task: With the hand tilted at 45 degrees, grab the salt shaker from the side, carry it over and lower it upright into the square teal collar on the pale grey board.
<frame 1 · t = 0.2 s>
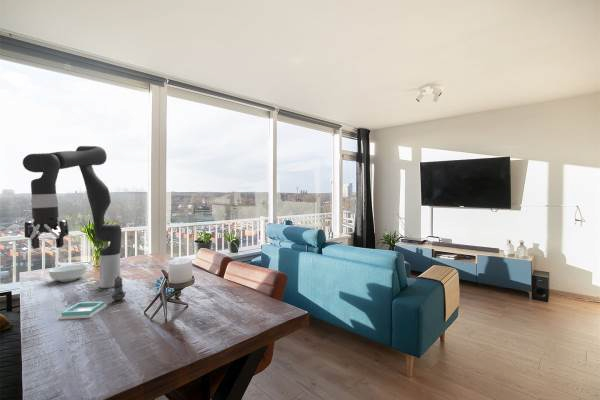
hand: (47, 247, 110), 29 cm above the table, tool pointing down, fingers open, 8 cm apart
cereal bowl: (68, 280, 165), on the table
socket board: (84, 312, 119), on the table
gear: (167, 292, 144), on the table
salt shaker: (118, 301, 131), on the table
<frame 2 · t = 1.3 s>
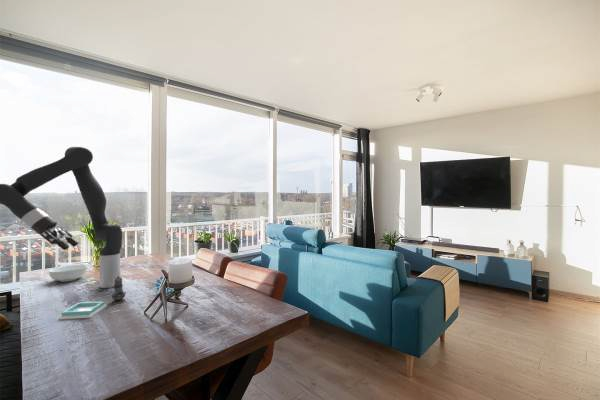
hand: (71, 246, 125), 26 cm above the table, tool tilted 45°, fingers open, 8 cm apart
nothing on the table moved.
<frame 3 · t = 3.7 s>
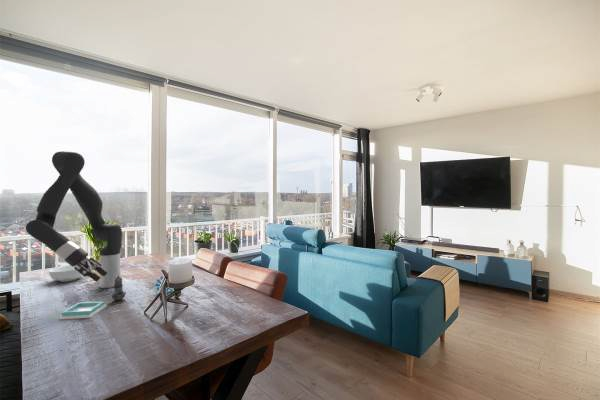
hand: (102, 277, 129), 12 cm above the table, tool tilted 45°, fingers open, 8 cm apart
nothing on the table moved.
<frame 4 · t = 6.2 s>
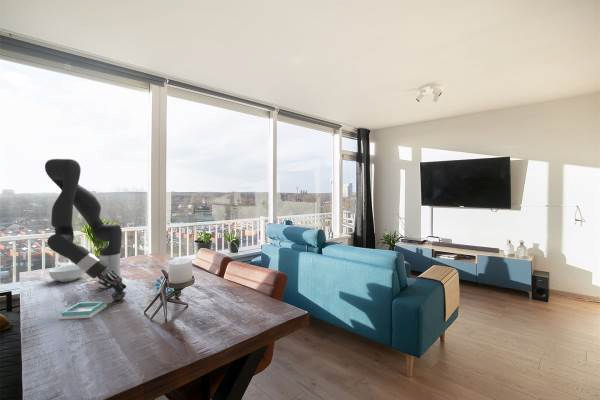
hand: (123, 289, 131), 5 cm above the table, tool tilted 45°, fingers closed on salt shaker, 3 cm apart
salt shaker: (118, 301, 131), on the table, touching gripper
everything else where it was.
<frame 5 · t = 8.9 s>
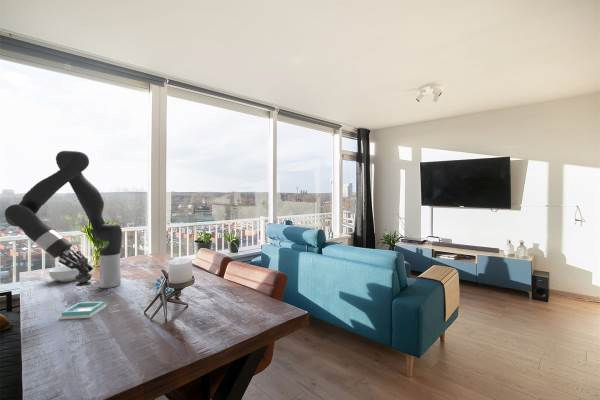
hand: (89, 271, 119), 17 cm above the table, tool tilted 45°, fingers closed on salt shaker, 3 cm apart
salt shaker: (83, 284, 118), point 12 cm above the table, touching gripper
everything else where it was.
when the fingers open (7 cm above the table, at t = 11.6 s): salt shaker stays where it is, resting on socket board.
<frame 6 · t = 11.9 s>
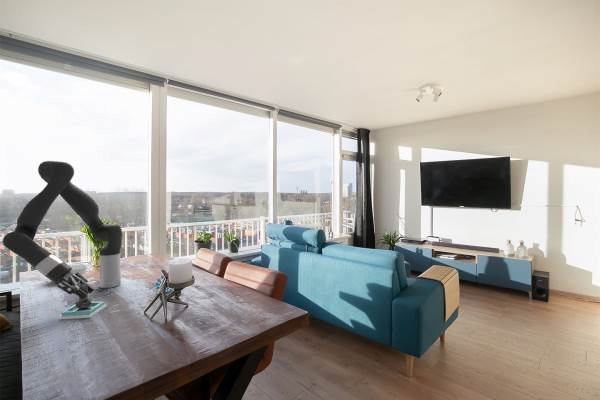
hand: (88, 294, 119), 7 cm above the table, tool tilted 45°, fingers open, 6 cm apart
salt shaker: (83, 310, 118), point 1 cm above the table, touching socket board
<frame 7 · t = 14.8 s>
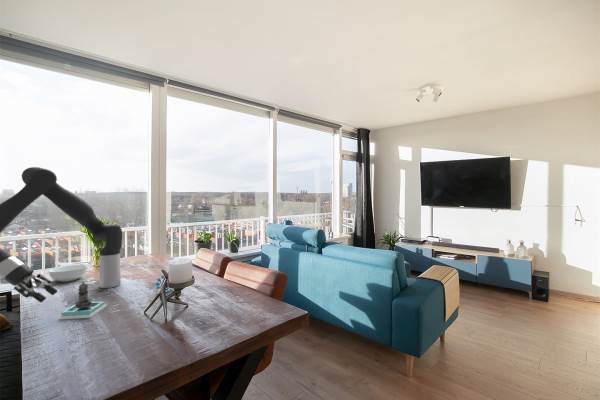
hand: (49, 296, 115), 8 cm above the table, tool tilted 45°, fingers open, 8 cm apart
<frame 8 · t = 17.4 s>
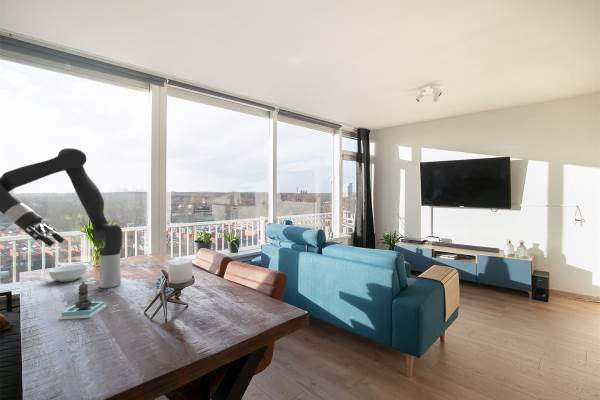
hand: (57, 242, 121), 29 cm above the table, tool tilted 45°, fingers open, 8 cm apart
at the end: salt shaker 0.1 cm off-centre on the socket board, point 0.8 cm above the socket board's base; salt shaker tilted 0°; the gripper is holding nothing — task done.
